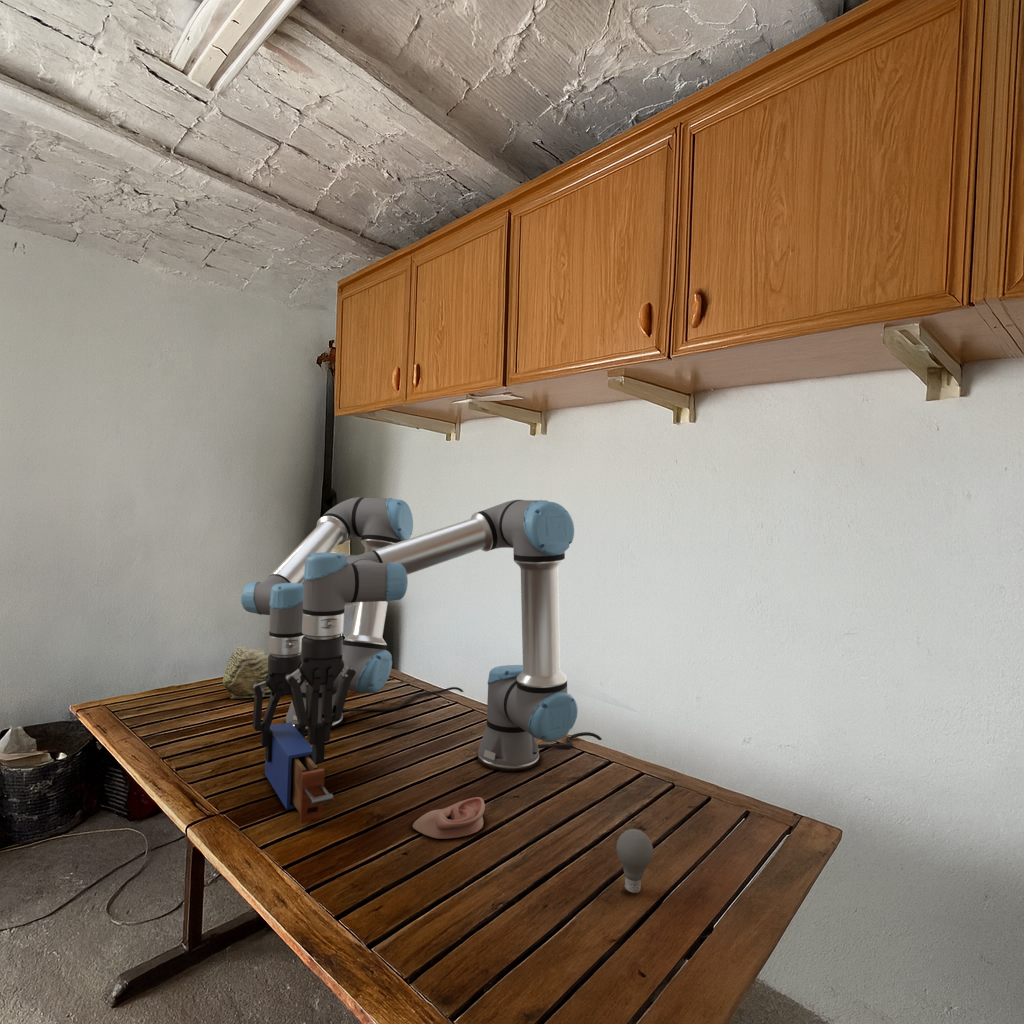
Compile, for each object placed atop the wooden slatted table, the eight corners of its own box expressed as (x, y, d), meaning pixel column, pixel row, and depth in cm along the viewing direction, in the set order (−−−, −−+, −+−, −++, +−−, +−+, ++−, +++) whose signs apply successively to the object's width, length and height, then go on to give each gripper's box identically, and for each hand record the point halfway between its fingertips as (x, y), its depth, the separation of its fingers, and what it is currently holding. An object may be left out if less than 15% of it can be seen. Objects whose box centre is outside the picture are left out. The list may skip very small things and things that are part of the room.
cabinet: (313, 803, 130) (315, 750, 130) (286, 810, 127) (288, 755, 127) (289, 769, 146) (290, 722, 146) (264, 774, 143) (266, 725, 143)
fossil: (218, 695, 195) (220, 647, 195) (278, 685, 208) (279, 640, 207) (228, 703, 189) (230, 653, 188) (289, 692, 201) (290, 645, 201)
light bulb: (610, 879, 108) (613, 822, 108) (644, 879, 109) (647, 822, 109) (619, 902, 102) (622, 840, 102) (655, 901, 103) (658, 840, 103)
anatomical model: (407, 813, 120) (427, 787, 131) (406, 834, 120) (426, 806, 131) (475, 823, 117) (489, 796, 129) (474, 845, 117) (488, 815, 129)
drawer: (332, 831, 118) (334, 782, 118) (310, 837, 116) (311, 787, 116) (297, 781, 138) (299, 739, 138) (277, 785, 136) (279, 742, 136)
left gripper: (245, 661, 132) (241, 772, 133) (332, 653, 143) (329, 755, 143) (238, 653, 139) (235, 759, 139) (322, 646, 149) (319, 744, 149)
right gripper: (292, 642, 112) (287, 774, 113) (363, 636, 119) (358, 760, 120) (281, 634, 118) (277, 759, 119) (349, 628, 126) (345, 746, 126)
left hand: (282, 756), depth 141 cm, fingers closed on cabinet, 5 cm apart
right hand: (317, 759), depth 119 cm, fingers closed
